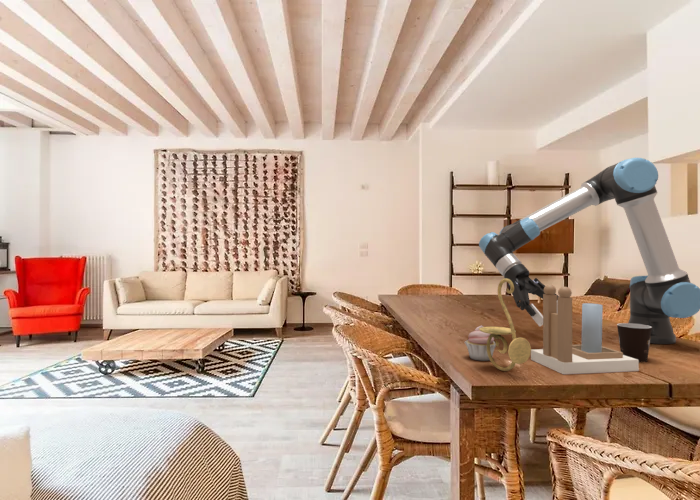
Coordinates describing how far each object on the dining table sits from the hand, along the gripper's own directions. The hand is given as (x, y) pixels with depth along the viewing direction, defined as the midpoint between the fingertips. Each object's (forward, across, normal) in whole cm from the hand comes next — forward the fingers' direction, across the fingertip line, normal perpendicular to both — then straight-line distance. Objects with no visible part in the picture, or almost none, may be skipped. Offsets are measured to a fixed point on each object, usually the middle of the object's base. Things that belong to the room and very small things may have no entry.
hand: (556, 321), depth 128 cm
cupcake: (0, +21, -16) cm, 26 cm away
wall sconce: (+8, +26, -7) cm, 29 cm away
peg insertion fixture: (+14, +3, -1) cm, 14 cm away
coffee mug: (+18, -18, +2) cm, 26 cm away
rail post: (+13, 0, +2) cm, 13 cm away
